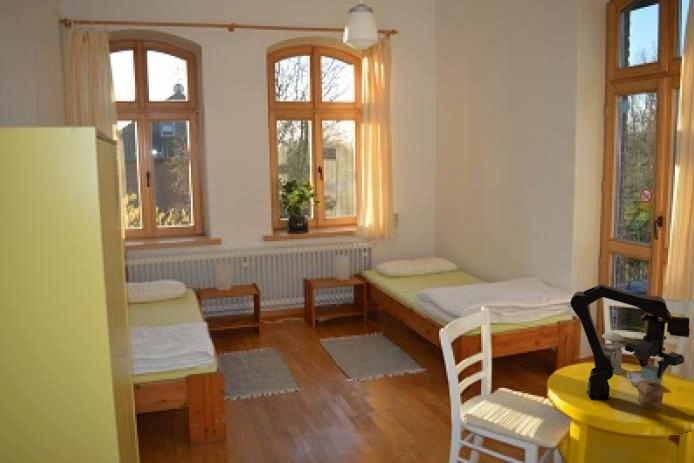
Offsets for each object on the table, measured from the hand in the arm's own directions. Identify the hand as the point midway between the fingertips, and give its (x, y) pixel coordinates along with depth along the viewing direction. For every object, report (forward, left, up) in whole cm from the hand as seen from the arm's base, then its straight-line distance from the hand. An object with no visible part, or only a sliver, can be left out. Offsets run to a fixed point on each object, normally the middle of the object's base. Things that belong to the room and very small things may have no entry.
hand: (651, 376), depth 219 cm
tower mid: (0, 0, -7) cm, 7 cm away
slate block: (0, 0, -1) cm, 1 cm away
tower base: (0, 0, -11) cm, 11 cm away
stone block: (+3, +19, -11) cm, 22 cm away
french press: (-4, +32, -11) cm, 34 cm away
